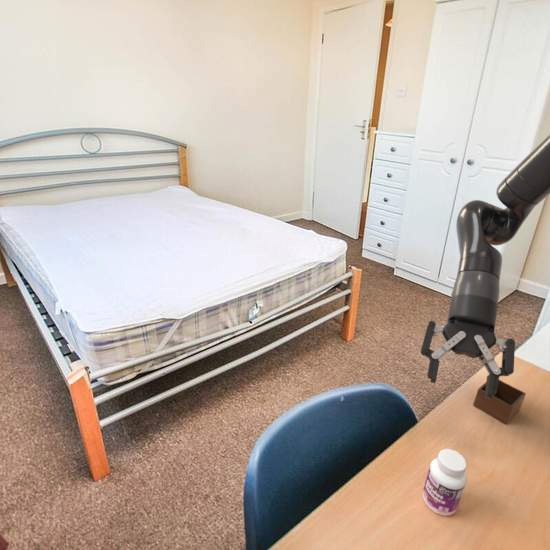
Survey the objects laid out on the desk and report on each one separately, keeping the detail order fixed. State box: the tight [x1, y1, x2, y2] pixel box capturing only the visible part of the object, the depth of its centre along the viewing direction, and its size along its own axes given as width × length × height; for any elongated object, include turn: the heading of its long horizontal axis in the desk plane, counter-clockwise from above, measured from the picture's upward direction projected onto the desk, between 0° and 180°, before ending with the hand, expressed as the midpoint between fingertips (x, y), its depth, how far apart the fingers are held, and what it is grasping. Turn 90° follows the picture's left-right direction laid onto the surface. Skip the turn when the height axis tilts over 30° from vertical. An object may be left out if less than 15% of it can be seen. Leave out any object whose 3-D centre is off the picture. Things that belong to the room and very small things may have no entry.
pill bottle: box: [422, 448, 468, 517], centre depth 60 cm, size 5×5×10 cm
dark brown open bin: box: [472, 379, 527, 425], centre depth 81 cm, size 7×7×5 cm
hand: (459, 389), depth 64 cm, fingers open, 8 cm apart
